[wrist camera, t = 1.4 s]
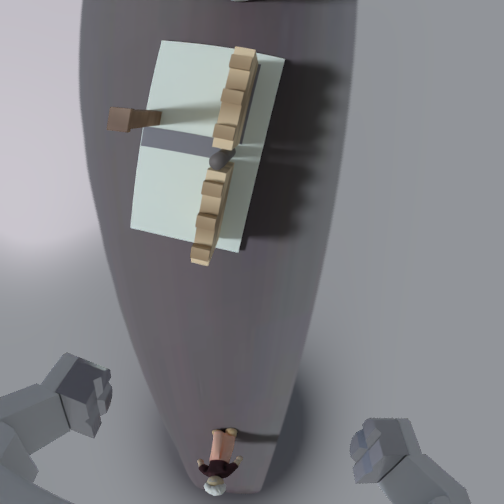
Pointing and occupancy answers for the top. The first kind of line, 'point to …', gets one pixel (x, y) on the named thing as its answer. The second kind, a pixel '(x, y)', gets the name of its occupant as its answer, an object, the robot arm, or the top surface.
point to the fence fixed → (233, 105)
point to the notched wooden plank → (211, 213)
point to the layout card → (197, 141)
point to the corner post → (131, 119)
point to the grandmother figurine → (220, 461)
